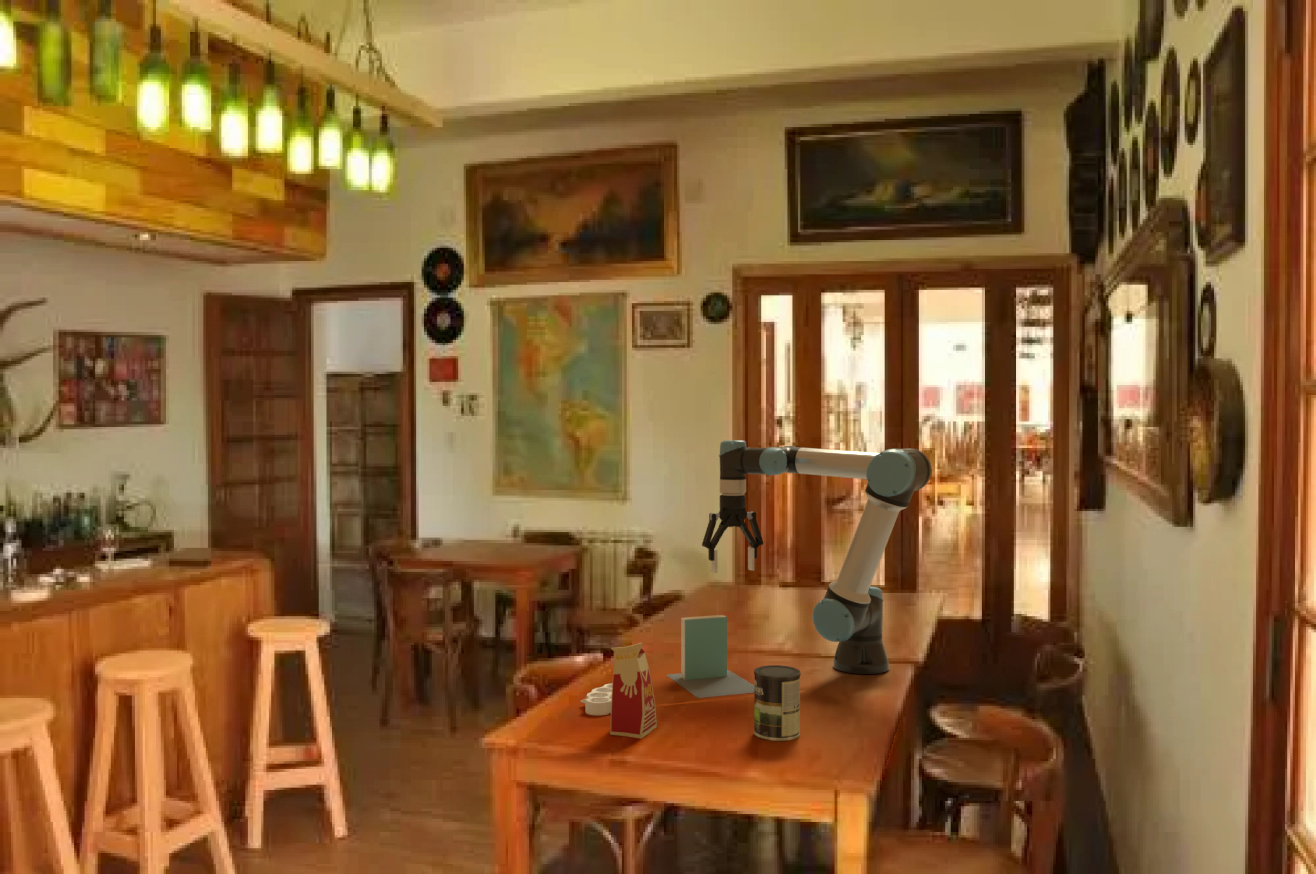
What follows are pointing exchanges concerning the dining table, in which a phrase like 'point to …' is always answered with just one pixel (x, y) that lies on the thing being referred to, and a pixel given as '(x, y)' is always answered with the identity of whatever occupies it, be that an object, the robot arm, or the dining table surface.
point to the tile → (703, 647)
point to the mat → (715, 685)
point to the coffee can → (777, 703)
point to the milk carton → (632, 694)
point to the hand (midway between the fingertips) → (732, 571)
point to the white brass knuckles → (599, 700)
